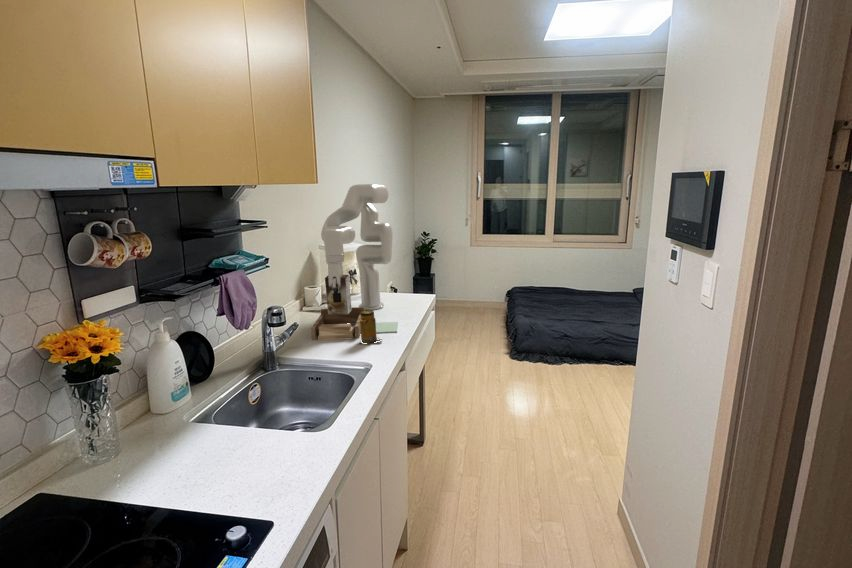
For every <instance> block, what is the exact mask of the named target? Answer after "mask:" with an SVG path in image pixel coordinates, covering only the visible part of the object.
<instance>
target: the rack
mask: <svg viewBox="0 0 852 568" xmlns="http://www.w3.org/2000/svg"><path fill="white" fill-rule="evenodd" d="M351 308H352V310H351V312H350V313H349V314H328V308H320V314H319V316H318V318H317V319H316V320H315V322H314V323H313V324H312V326H311V327H310V334H311V340H312V341H316V340H318V335H319V327H320V325H328V324H347V323H353V324H355V325H354V326H352V327H353V328H354V333H355V335H354V337H355V339H360V338H361V335H360V334H361V328H360V319H361V312H362V311H365V310H364V307H359V306H358V307H357V306H356V307H354V306H353V307H352V306H351Z"/></svg>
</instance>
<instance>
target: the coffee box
mask: <svg viewBox="0 0 852 568" xmlns="http://www.w3.org/2000/svg"><path fill="white" fill-rule="evenodd" d="M324 282H325V292H326V293H325V295H326V304H327V307H326V308H327V309H328V314H349V313H350V312H351V310H352V295H351V285H350V284H351V283H350V274H343V276H342V277H341V286H340V293H341V302H337V303H334V302H333V287H332V286H333V283H332V286H331V287H329V279H328V275H326V276H325V278H324ZM336 286H338V284H336ZM337 289H338V287H337Z"/></svg>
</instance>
